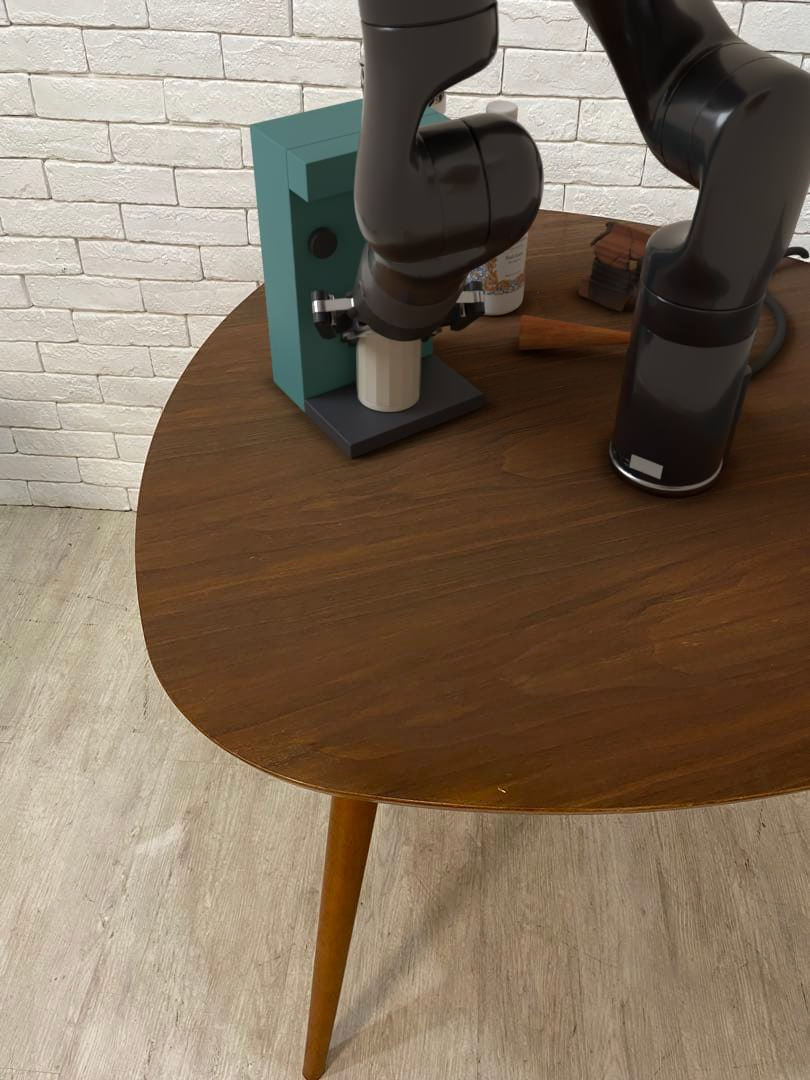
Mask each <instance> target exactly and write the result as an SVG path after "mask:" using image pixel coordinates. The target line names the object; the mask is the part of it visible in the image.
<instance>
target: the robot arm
mask: <svg viewBox="0 0 810 1080" xmlns="http://www.w3.org/2000/svg"><path fill="white" fill-rule="evenodd" d="M570 1H571V3H572V4H573V6H574V7H575V9H577V12H578V13H579V14H580V16H581V17H582V19H583V20H584V21H585V23H586V24H587V25H588V26H589V28H590V30H591V31H592V32H593V34H594V35H595V37H596V38H597V40H598V41H599V43H600V45H601V47H602V49H603V50H604V52H605V54H606V57H607V58H608V60H609V63H610V65H611V67H612V69H613V71H614V73H615V76H616V78H617V81H618V82H619V85H620V88H621V89H622V92H623V94H624V96H625V99H626V101H627V104H628V106H629V108H630V110H631V113H632V115H633V118H634V121H635V122H636V126H637V127H638V130H639V132H640V134H641V136H642V138H643V141H644V142H645V144H646V146H647V147H648V149H649V151H650V153H651V154H652V156H653V157H654V158H655V159H656V160H657V161H658V163H659V164H660V165H661V166H662V167H663V168H664V169H665V170H667V171H669V172H670V173H671V174H673V175H675V176H676V177H677V178H679V179H681V180H682V181H684V182H685V183H687V184H688V185H690V186H692V187H693V188H695V189H696V190H698V196H697V200H696V205H695V207H694V211H693V215H692V218H691V219H684V220H678V221H675V222H672V223H671V222H670V223H669V224H666V225H663V226H661V227H659V228H658V229H656V230H655V231H654V232H653V233H652V235H651V237H650V238H649V239H648V242H647V244H646V247H645V250H644V255H643V260H642V266H641V274H640V279H639V285H638V291H637V296H636V302H635V303H634V308H633V316H632V321H631V328H630V331H629V332H630V338H629V343H628V344H627V348H626V349H627V350H626V356H625V361H624V366H623V371H622V379H621V385H620V388H619V389H620V390H619V396H618V401H617V405H616V406H617V407H616V413H615V417H614V422H613V423H614V424H613V428H612V435H611V438H610V441H609V447H608V452H607V460H608V465H609V466H610V469H611V470H612V471H613V473H614V474H615V476H617V477H618V478H619V479H620V480H621V481H623V483H625V484H627V485H628V486H630V487H632V488H634V489H636V490H638V491H641V492H644V493H647V494H651V495H655V496H660V497H669V498H673V497H674V498H675V497H677V498H680V497H687V496H693V495H696V494H700V493H702V492H705V491H706V490H708V489H710V487H712V486H713V485H714V484H716V482H717V480H718V478H719V476H720V474H721V470H722V467H723V466H724V465H726V464H728V462H729V457H730V454H731V451H732V447H733V443H734V438H735V436H736V432H737V427H738V424H739V422H740V417H741V413H742V409H743V405H744V403H745V402H744V401H745V399H746V395H747V390H748V386H749V384H750V380H751V377H752V376H754V375H755V374H756V373H758V372H759V371H760V370H761V369H762V368H763V369H764V367H765V366H766V365H767V364H768V363H769V362H770V361H771V360H772V359H773V358H774V356H775V355H776V354H777V353H778V352H779V350H780V349H781V348H782V345H783V343H784V341H785V338H786V335H787V317H786V313H785V311H784V309H783V307H782V306H781V305H780V304H779V303H778V302H777V300H776V299H774V297H773V296H772V295H771V294H770V293H769V292H767V291H768V287H769V285H770V280H771V278H772V275H773V273H774V272H775V270H776V269H777V267H778V266H779V264H780V263H781V261H782V260H783V259H785V258H788V257H792V256H799V257H800V258H801V259H803V260H807V259H809V258H810V253H809V250H808V249H806V248H805V247H803V246H790V245H791V242H792V240H793V238H794V234H795V231H796V228H797V226H798V221H799V219H800V217H801V216H800V215H801V213H802V210H803V206H804V204H805V201H806V198H807V195H808V192H809V189H810V72H809V71H807V70H805V69H803V68H801V67H800V66H797V65H795V64H793V63H791V62H789V61H786V60H785V59H782V58H780V57H777V56H776V55H773V54H771V53H769V52H767V51H765V50H763V49H760V48H758V47H757V46H754V45H752V44H750V43H748V42H747V41H746V40H744V39H742V38H741V37H740V36H738V35H737V33H735V32H734V31H733V30H732V28H731V27H730V26H729V24H728V23H727V21H726V20H725V19H724V17H723V16H722V14H721V13H720V10H719V9H718V7H717V6H716V4H715V2H714V1H713V0H570ZM357 7H358V13H359V19H360V28H361V36H362V46H363V55H364V91H363V108H362V118H361V127H360V135H359V142H358V149H357V157H356V165H355V174H354V207H355V214H356V218H357V222H358V225H359V228H360V231H361V233H362V235H363V237H364V238H365V240H366V244H365V246H364V249H363V252H362V256H361V259H360V263H359V267H358V271H357V275H356V279H355V283H354V288H353V289H351V290H349V291H348V292H347V293H346V295H345V298H340V299H334V295H333V294H329V295H328V294H327V292H326V291H322V290H316V291H314V292H312V293H311V298H312V309H313V319H314V325H315V327H316V329H317V330H318V332H319V334H320V336H321V337H322V338H323V339H327V340H330V339H332V338H335V337H336V333H340V342H342V343H346V342H348V347H356V345H357V343H358V340H359V337H371V336H373V335H375V334H377V333H378V334H379V335H381V336H383V337H385V338H388V339H391V340H395V341H402V342H408V341H415V340H419V339H422V342H428V340H429V338H430V337H433V338H434V337H436V336H437V335H438V334H441V333H443V328H445V327H449V330H450V331H454V332H460V331H462V330H465V329H467V327H469V326H470V325H472V323H474V322H475V321H477V320H478V319H480V318H481V317H482V316H484V315H483V314H485V304H484V294H483V284H482V282H480V281H472V282H470V283H468V284H467V285H466V286H465V283H466V279H467V276H468V275H469V273H470V272H471V271H473V270H474V269H476V268H478V267H480V266H482V265H484V264H486V263H488V262H489V261H491V260H492V259H494V258H496V257H497V256H499V255H500V254H502V253H504V252H505V251H507V250H508V249H509V248H511V247H512V246H514V245H515V244H516V243H517V242H518V241H520V240H521V238H522V237H523V236H524V235H525V234H526V233H527V232H528V230H529V231H530V229H531V227H532V226H533V224H534V222H535V221H536V219H537V216H538V214H539V212H540V208H541V206H542V205H541V204H542V201H543V196H544V189H545V170H544V163H543V157H542V155H541V151H540V149H539V147H538V145H537V143H536V141H535V139H534V137H533V136H532V135H531V132H529V131H528V130H527V128H526V127H525V126H524V125H523V124H522V123H520V122H519V121H518V120H517V121H516V120H514V119H513V118H511V117H508V116H506V115H503V114H499V113H486V112H482V113H481V112H480V113H475V114H469V115H466V116H461V117H459V118H454V119H452V120H448V121H444V122H439V123H434V124H430V125H425V126H420V127H419V125H420V122H421V119H422V117H423V114H424V112H425V110H426V108H427V107H428V105H429V103H430V102H431V101H432V100H433V99H434V98H435V97H437V96H438V95H439V94H440V93H442V92H444V93H445V92H446V91H447V90H449V89H450V88H452V87H454V86H456V85H458V84H460V83H462V82H463V81H465V80H467V79H470V78H472V77H473V76H475V75H478V74H479V73H480V72H483V70H485V69H486V68H487V67H488V66H490V65H491V64H492V63H493V62H494V60H495V58H496V56H497V54H498V51H499V46H500V16H499V2H498V0H357ZM764 304H765V305H766V306H767V307H768V308H769V310H771V312H772V313H773V315H774V317H775V320H776V332H775V335H774V338H773V340H772V342H771V343H770V345H769V346H768V348H767V349H766V350H765V351H764V352H763V353H762V354H761V355H760V356H759V357H758V358H757V359H756V360H754V362H752V363H750V364H749V359H750V355H751V353H752V348H753V344H754V341H755V337H756V333H757V329H758V325H759V321H760V317H761V314H762V310H763V306H764Z"/></svg>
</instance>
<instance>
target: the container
mask: <svg viewBox="0 0 810 1080" xmlns="http://www.w3.org/2000/svg"><path fill="white" fill-rule="evenodd" d="M421 354H422V339H419V340H415V341H408V342H402V341H395V340H391V339H388V338H385V337H383V336H381V335H379V334H378V333H377V334H375V335H373V336H371V337H359V340H358V343H357V345H356V377H357V396H358V399H359V400H360V402H361V403H362V404H363V405H365V406H366V407H368V408H370V409H373V410H376V411H382V412H396V411H401V410H405V409H407V408H410V407H411V406H413V405H414V404H415V403H416V402H417V401H418V399H419V396H420V386H421Z"/></svg>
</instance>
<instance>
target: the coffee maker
mask: <svg viewBox="0 0 810 1080" xmlns="http://www.w3.org/2000/svg"><path fill="white" fill-rule="evenodd" d="M362 108H363V98H362V99H361V98H358V99H354V100H350V101H346V102H341V103H337V104H333V105H332V104H331V105H328V106H323V107H319V108H315V109H311V110H306V111H302V112H298V113H297V112H296V113H294V114H289V115H284V116H279V117H276V118H272V119H267V120H263V121H258V122H255V123H250V124H249V134H250V144H251V155H252V168H253V177H254V186H255V188H254V189H255V197H256V209H257V210H256V211H257V219H258V220H257V221H258V228H259V229H258V230H259V239H260V241H259V242H260V250H261V251H260V252H261V261H262V262H261V263H262V273H263V283H264V292H265V293H264V294H265V304H266V314H267V315H266V316H267V323H268V324H267V325H268V334H269V335H268V336H269V346H270V356H271V366H272V367H271V368H272V376H273V377H272V379H273V382H274V383H275V385H277V387H278V388H279V389H280V390H281V391H283V392H284V393H285V395H287V396H288V397H289V398H290V400H291V401H293V403H295V405H297V406H298V408H300V410H301V411H302V412H303V413H305V414H306V415H307V417H308V418H310V420H311V421H313V422H314V424H316V425H317V426H318V427H319V428H320V430H321V431H323V432H324V433H325V435H326V436H328V437H329V439H330V440H331V441H333V442H334V443H335V445H336V446H337V447H339V448H340V450H342V452H344V453H345V455H346V456H348V457H349V458H350V459H355V458H356V457H359V456H362V455H364V454H366V453H369V452H372V451H375V450H377V449H379V448H383V447H384V446H388V445H390V444H392V443H395V442H398V441H400V440H403V439H405V438H409V437H410V436H412V435H415V434H418V433H420V432H423V431H426V430H427V429H430V428H433V427H436V426H438V425H440V424H443V423H445V422H448V421H451V420H453V419H455V418H458V417H460V416H464V415H466V414H469V413H470V412H473V411H476V410H479V409H481V408H483V405H484V403H483V401H484V393H483V392H481V390H479V388H477V387H476V386H474V385H473V384H472V383H471V382H470V381H468V380H467V379H466V378H465V377H463V376H462V375H461V374H459V373H458V372H457V371H456V370H454V369H453V368H452V367H451V366H450V365H448V364H447V363H446V362H445V361H444V360H442V359H441V358H440V357H438V356H437V355H436V354H434V336H433V337H430V338H429V340H428V342H422V354H421V386H420V396H419V399H418V401H417V402H416V403H415V404H414V405H413V406H411V407H410V408H407V409H405V410H401V411H396V412H382V411H376V410H373V409H370V408H368V407H366V406H365V405H363V404H362V403H361V402H360V400H359V399H358V396H357V377H356V347H348V342H346V343H342V342H340V333H336V337H335V338H332V339H330V340H327V339H323V338H322V337H321V336H320V334H319V332H318V330H317V329H316V327H315V325H314V319H313V309H312V298H311V293H312V292H314V291H316V290H322V291H326V292H327V294H328V295H329V294H333V295H334V299H340V298H345V295H346V293H347V292H348V291H349V290H351V289H353V288H354V283H355V279H356V275H357V271H358V267H359V263H360V259H361V256H362V252H363V249H364V246H365V244H366V240H365V238H364V237H363V235H362V233H361V231H360V228H359V225H358V222H357V218H356V214H355V207H354V174H355V165H356V157H357V149H358V142H359V135H360V127H361V118H362ZM448 120H453V119H452V118H451V117H448V116H447V115H445V114H444V115H443V114H441V113H439V112H437V111H436V110H434V109H432V108H430V107H427V108H426V110H425V112H424V114H423V117H422V119H421V122H420V125H419V127H420V126H425V125H430V124H434V123H439V122H444V121H448Z"/></svg>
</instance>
